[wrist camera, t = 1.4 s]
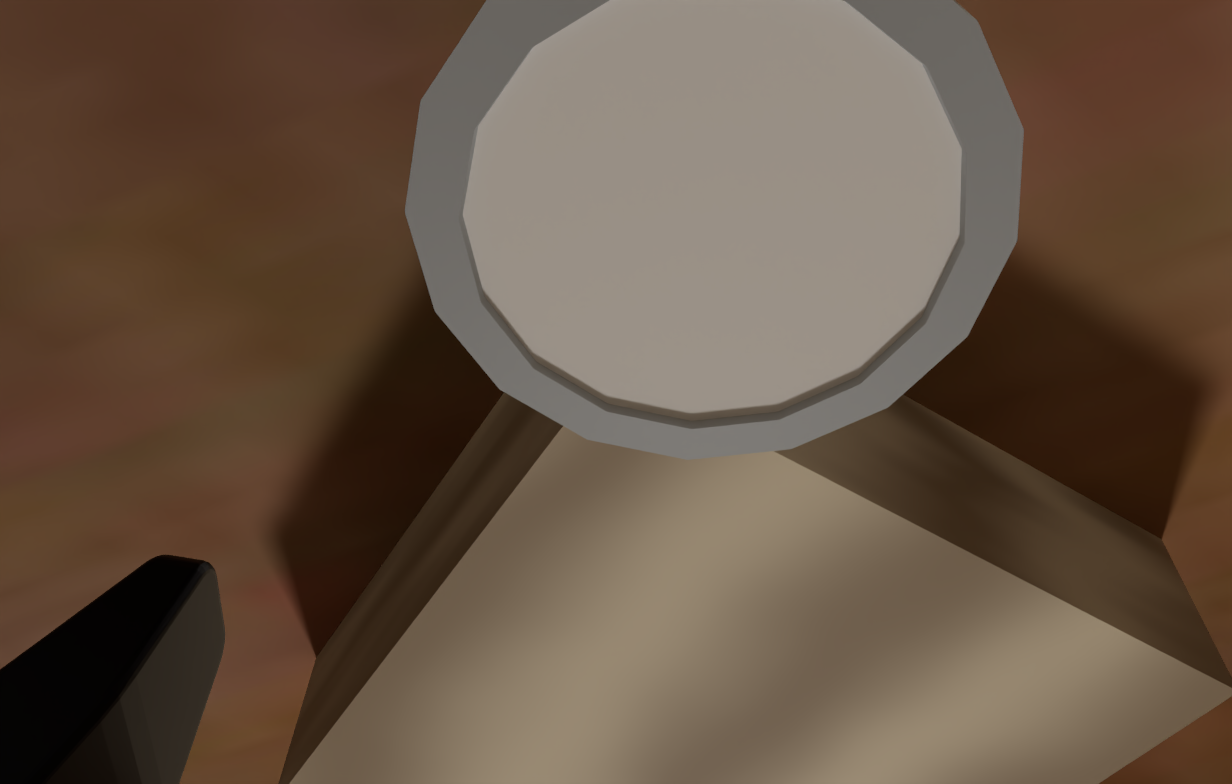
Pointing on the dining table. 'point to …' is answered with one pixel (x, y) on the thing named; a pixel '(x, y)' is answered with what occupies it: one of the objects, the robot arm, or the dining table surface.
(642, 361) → the white cup
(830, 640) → the birch block
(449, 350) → the dining table surface
